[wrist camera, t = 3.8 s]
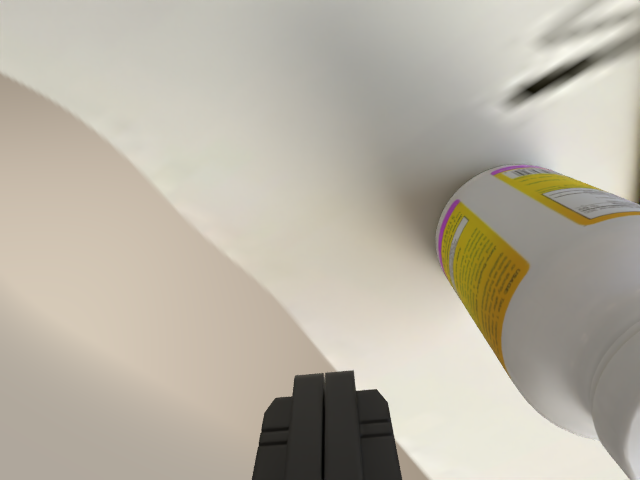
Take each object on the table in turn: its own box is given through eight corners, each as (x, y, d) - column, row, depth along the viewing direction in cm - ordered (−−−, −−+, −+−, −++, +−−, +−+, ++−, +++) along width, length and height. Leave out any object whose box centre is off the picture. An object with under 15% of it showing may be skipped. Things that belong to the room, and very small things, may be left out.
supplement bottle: (477, 321, 23) (648, 592, 11) (405, 217, 21) (510, 402, 9) (603, 246, 22) (960, 461, 9) (535, 129, 20) (866, 207, 8)
